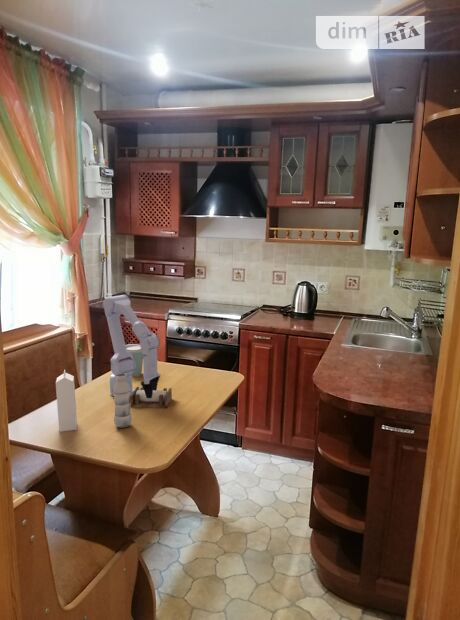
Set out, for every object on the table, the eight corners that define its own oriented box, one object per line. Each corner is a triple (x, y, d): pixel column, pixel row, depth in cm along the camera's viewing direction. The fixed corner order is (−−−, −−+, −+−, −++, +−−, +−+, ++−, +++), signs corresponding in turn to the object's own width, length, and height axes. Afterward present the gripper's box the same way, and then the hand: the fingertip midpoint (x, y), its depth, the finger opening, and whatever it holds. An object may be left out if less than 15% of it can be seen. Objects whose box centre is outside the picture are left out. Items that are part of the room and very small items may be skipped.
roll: (135, 403, 189) (135, 392, 188) (138, 398, 193) (138, 388, 193) (164, 404, 188) (163, 393, 187) (166, 399, 192) (166, 389, 192)
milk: (59, 432, 164) (54, 374, 160) (60, 425, 170) (55, 369, 166) (76, 430, 166) (72, 372, 161) (77, 423, 171) (73, 367, 167)
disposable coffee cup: (149, 372, 230) (148, 344, 227) (137, 379, 220) (136, 349, 217) (131, 370, 234) (130, 342, 231) (119, 376, 224) (117, 347, 221)
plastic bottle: (116, 431, 165) (114, 379, 161) (112, 424, 170) (110, 373, 167) (134, 427, 168) (132, 376, 164) (129, 420, 173) (127, 371, 170)
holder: (130, 406, 187) (130, 395, 186) (137, 397, 197) (137, 386, 196) (166, 408, 186) (166, 396, 185) (171, 398, 195) (171, 388, 194)
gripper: (155, 369, 181) (156, 401, 183) (163, 358, 195) (164, 388, 197) (138, 368, 181) (139, 400, 184) (147, 358, 195) (148, 388, 198)
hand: (151, 394), depth 190 cm, fingers open, 7 cm apart
